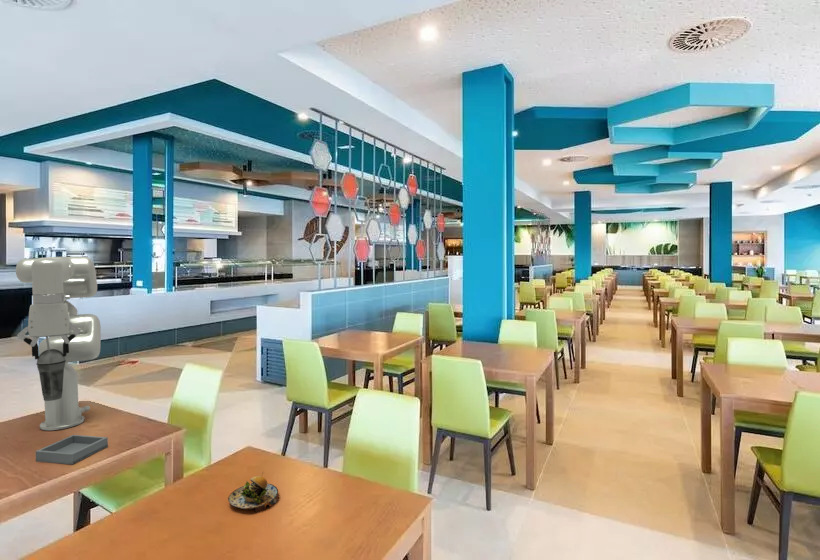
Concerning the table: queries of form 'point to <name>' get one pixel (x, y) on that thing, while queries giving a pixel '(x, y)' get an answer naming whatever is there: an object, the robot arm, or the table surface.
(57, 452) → the tray
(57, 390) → the beverage cup
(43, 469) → the table surface
